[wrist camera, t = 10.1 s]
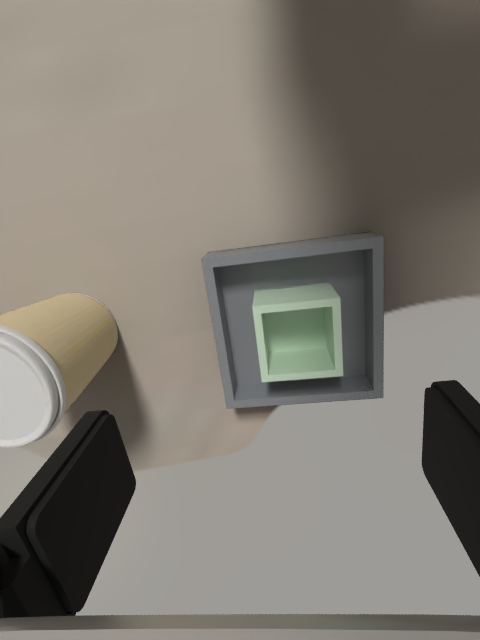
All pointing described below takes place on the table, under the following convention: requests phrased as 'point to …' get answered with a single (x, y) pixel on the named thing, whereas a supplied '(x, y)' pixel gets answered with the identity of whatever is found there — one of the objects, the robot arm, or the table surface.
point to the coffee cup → (49, 362)
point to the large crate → (290, 270)
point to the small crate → (298, 332)
